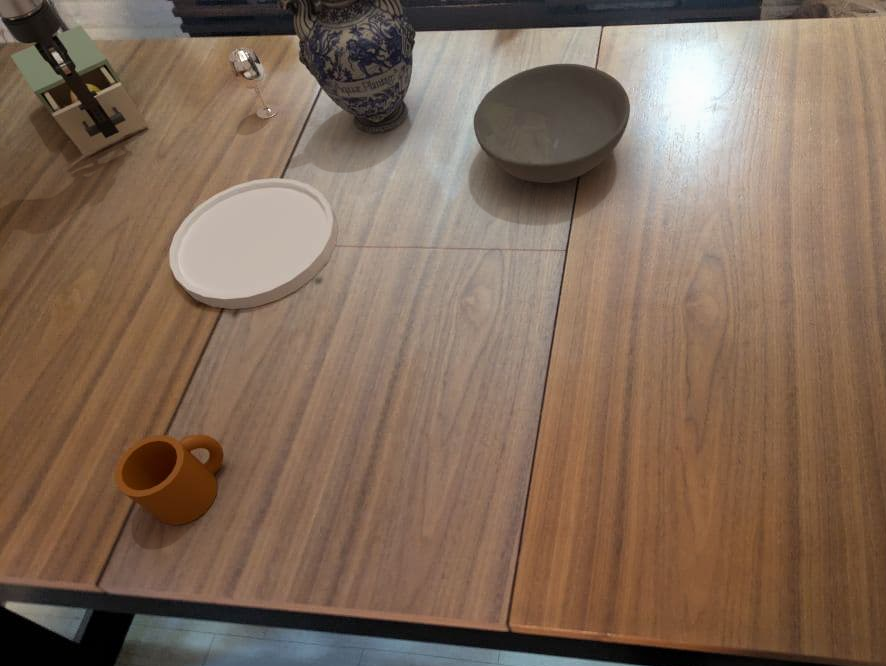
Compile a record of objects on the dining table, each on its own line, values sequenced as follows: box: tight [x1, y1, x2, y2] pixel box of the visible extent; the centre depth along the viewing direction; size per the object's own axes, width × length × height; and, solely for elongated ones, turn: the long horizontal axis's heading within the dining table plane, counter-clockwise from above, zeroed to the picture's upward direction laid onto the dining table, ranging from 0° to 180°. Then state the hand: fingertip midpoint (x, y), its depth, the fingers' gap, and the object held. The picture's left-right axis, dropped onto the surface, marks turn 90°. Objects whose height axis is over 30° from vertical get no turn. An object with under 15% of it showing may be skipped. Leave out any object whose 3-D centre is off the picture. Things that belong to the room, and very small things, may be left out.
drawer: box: [43, 65, 149, 156], centre depth 138 cm, size 20×13×9 cm
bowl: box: [473, 63, 631, 184], centre depth 122 cm, size 26×26×10 cm
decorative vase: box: [276, 0, 417, 134], centre depth 125 cm, size 21×19×28 cm
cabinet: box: [10, 24, 138, 140], centre depth 143 cm, size 17×15×11 cm
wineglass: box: [228, 47, 280, 120], centre depth 136 cm, size 6×6×12 cm
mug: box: [114, 433, 225, 526], centre depth 93 cm, size 9×12×9 cm
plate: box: [168, 177, 339, 310], centre depth 120 cm, size 28×28×2 cm
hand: (111, 133), depth 133 cm, fingers closed
